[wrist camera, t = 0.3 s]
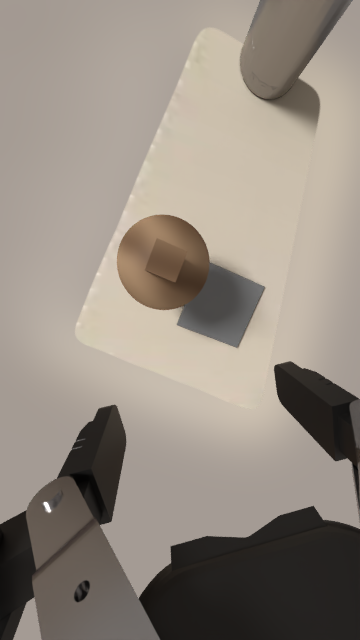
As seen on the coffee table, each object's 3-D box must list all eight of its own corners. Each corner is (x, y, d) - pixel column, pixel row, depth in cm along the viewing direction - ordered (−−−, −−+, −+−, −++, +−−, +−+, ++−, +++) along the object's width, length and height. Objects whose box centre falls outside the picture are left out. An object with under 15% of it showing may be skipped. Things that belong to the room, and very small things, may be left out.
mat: (203, 259, 37) (203, 259, 36) (263, 286, 39) (264, 286, 38) (176, 324, 38) (177, 324, 38) (236, 347, 40) (236, 347, 40)
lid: (137, 200, 25) (131, 177, 19) (221, 240, 27) (239, 229, 21) (105, 289, 26) (91, 292, 21) (187, 321, 28) (195, 332, 23)
